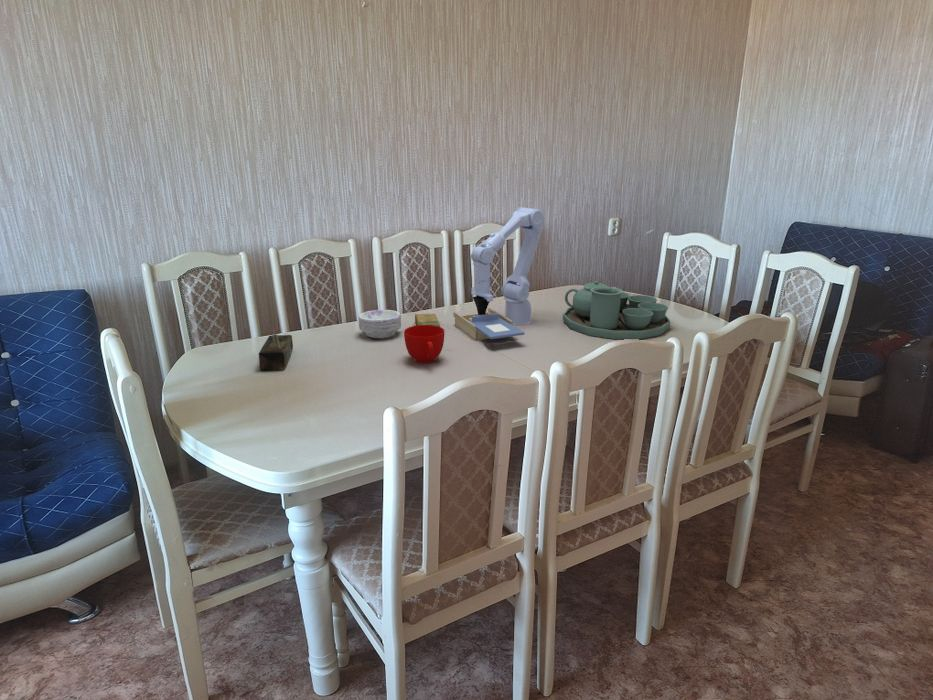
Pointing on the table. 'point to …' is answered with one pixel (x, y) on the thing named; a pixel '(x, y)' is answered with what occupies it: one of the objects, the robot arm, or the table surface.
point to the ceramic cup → (424, 342)
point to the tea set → (614, 313)
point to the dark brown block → (276, 352)
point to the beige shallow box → (470, 328)
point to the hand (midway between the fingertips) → (481, 315)
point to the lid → (494, 326)
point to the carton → (426, 319)
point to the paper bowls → (380, 323)
